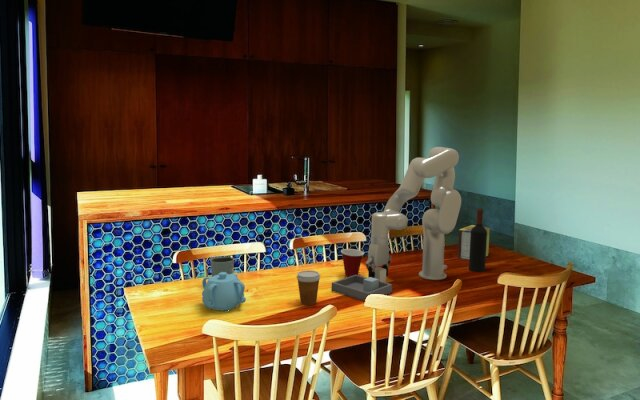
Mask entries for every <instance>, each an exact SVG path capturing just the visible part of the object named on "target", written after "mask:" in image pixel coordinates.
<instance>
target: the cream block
mask: <svg viewBox="0 0 640 400" xmlns="http://www.w3.org/2000/svg"><path fill="white" fill-rule="evenodd" d="M374 272H375V278H376V279H379V281H381V282H385V283H387V276H386V269H384V268H382V267H381V266H378V267H376V268H375V270H374Z"/></svg>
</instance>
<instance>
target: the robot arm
mask: <svg viewBox="0 0 640 400" xmlns="http://www.w3.org/2000/svg"><path fill="white" fill-rule="evenodd" d="M459 160H460V154H459V153H458V151H457V150H456V149H454V148H450V147H444V146H435V147H433V148H431V149H430V150H429V153H428V158H426V157H415V158H413V159H411V161H410V163H409V165H408V167H407V170H406V171H405V174H404V177H403V179H402V181H401V183H400V186H399V187H398V189H397V190H396V191H395V192H394V193H393V194H392V196H390V197H389V199H388V201H387V202H386V205H385V207H384V210H383V212H382V211H381V212H380V211H379V212H374V213H372V215H371V234H370V235H371V236H370V243H369V247H368V252H367V260H366V261H365V266H366V269H367V272H368V276H367V278H369V277H372V278H375V272H374V270H375V268H377V267H381V268H384V269H386V277H388V275H389V267H390V263H391V260H392V256H391V255H390V254H389V253H390V250H389V249H390V248H389V230H397V231H398V230H399V231H401V230H403V229H405V228H406V227H407V226H408V223H409V221H408V217H407V216H406V215H405V214H404V213H401V212H400V211H401V208H402V207H403V205H405V203H406V202H408V201H409V200H411V199H413V198H415V197H416V196H418V194H419V192H420V189H421V188H422V185H423V183H424V180H425V179H430V178H431V179H432V178H434V177H435V178H434V181H433V182H434V183H433V186H432V190H431V193H430V202H431V204H432V205H434V206H435V207H439V209H437V208H430V209H427V210H426V211H425V212H424V213H423V215H422V220H421V222H422V223H421V224H422V230H423V231H422V233H423V240H422V241H423V243H422V244H423V245H422V269H421V270H420V271H419V272H418V276H419V277H420V278H422V279H424V280H431V281H440V280H441V281H442V280H444V279H446V278H447V273H445V272H444V270H446V269H448V266H447V265H446V264H444V263H445V262H444V259H445V256H444V255H445V243H446V242H445V240H446V239H445V235H448V234H450V233H452V232H453V231H454V229H455V227H456V224H457V220H458V217H459V213H460V209H461V207H462V196H461V194H460V193H459V191H458V190H456V189H455V188H454V185H455V183H454V182H455V180H456V171H455V167H456V165H458V163H459Z"/></svg>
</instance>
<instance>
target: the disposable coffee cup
mask: <svg viewBox="0 0 640 400" xmlns="http://www.w3.org/2000/svg"><path fill="white" fill-rule="evenodd" d="M320 279H321V274H320V273H319V271H315V270H301V271H299V272H298V273H297V275H296V280H297V285H298V293H299V300H300V304H301V305H303V306H315V305H316V303H317V302H318V301H317V300H318V299H317V298H318V292H319V283H320Z"/></svg>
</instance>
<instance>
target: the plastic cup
mask: <svg viewBox="0 0 640 400" xmlns="http://www.w3.org/2000/svg"><path fill="white" fill-rule="evenodd" d="M340 253H341V255H342V256H341V257H342V261H343V269H344V275H345V278H347V277H350V276H353V275H359V274H360V273H359V272H360V268H361V263H362V259H363V256H364V255H365V252H364V251H363V250H360V249H355V248H345V249H341V250H340Z"/></svg>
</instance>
